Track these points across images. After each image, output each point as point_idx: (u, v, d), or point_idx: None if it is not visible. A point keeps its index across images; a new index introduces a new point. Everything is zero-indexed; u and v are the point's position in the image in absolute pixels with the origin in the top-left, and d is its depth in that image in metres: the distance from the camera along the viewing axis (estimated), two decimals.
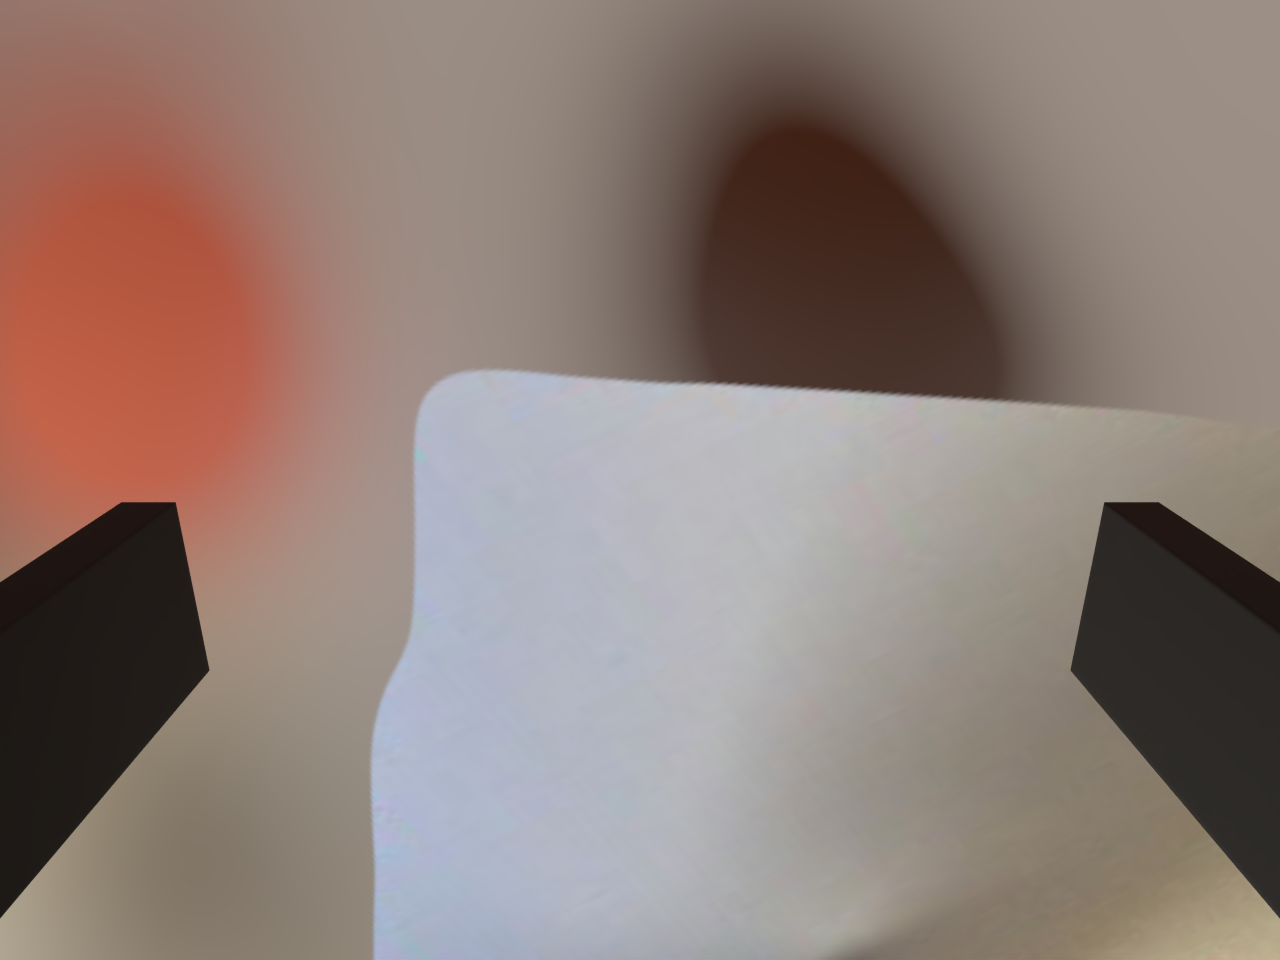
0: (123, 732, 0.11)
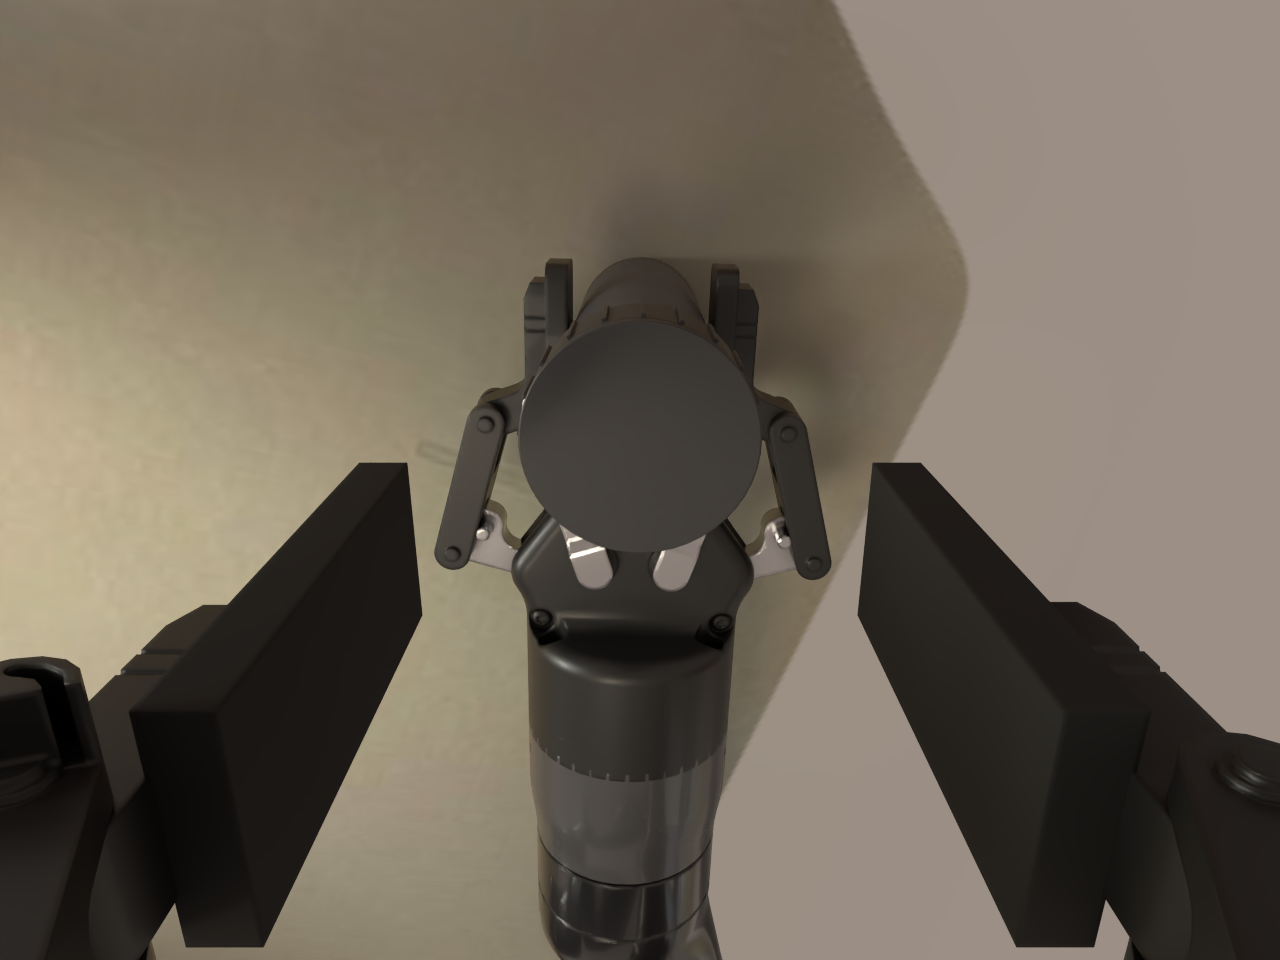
0: (384, 659, 0.12)
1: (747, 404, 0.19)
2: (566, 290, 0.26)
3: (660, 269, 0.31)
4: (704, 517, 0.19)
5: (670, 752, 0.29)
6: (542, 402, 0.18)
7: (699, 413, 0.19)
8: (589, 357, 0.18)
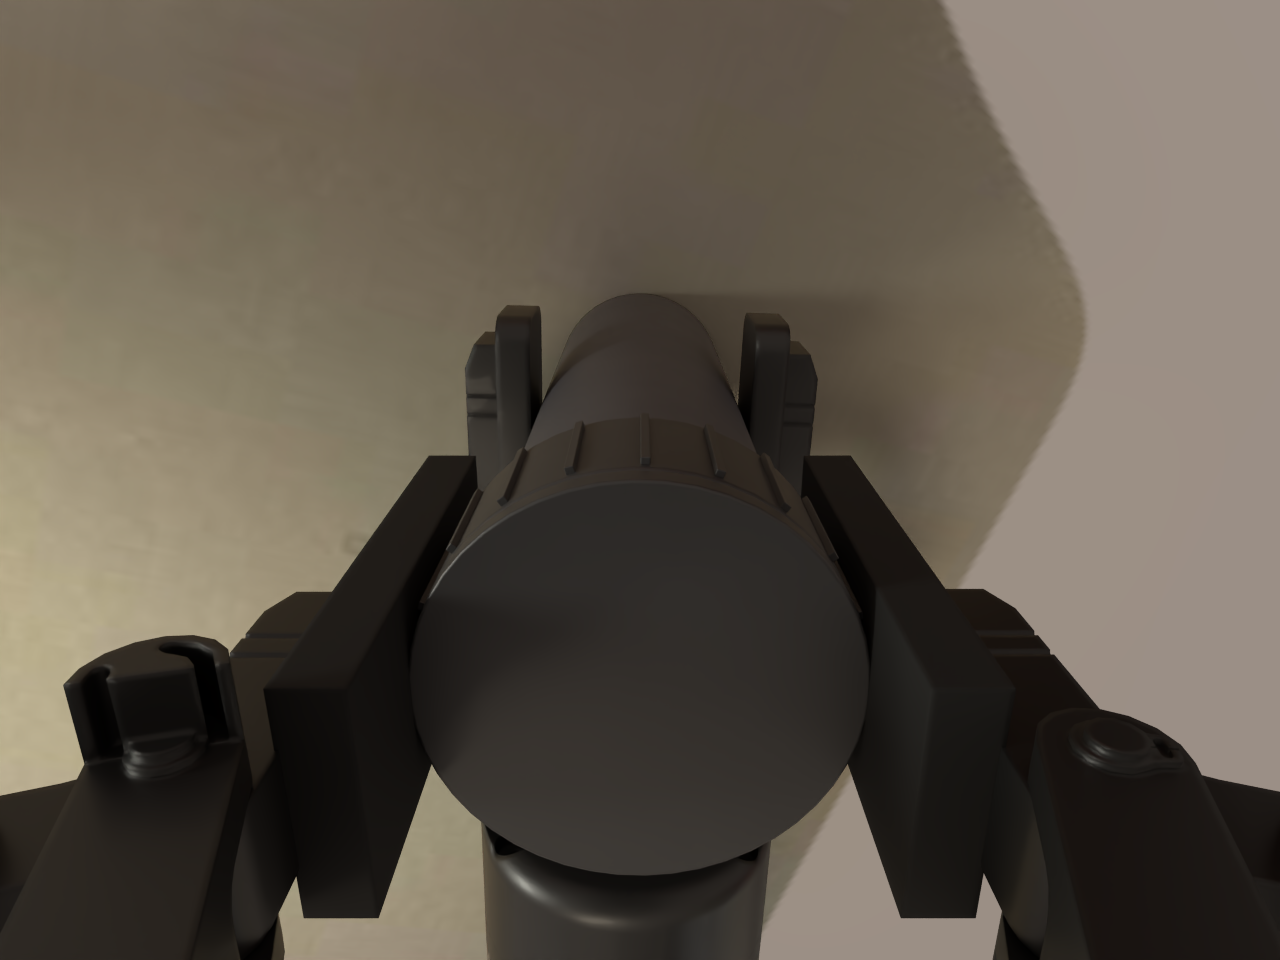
0: None
1: (846, 630, 0.10)
2: (528, 357, 0.17)
3: (668, 314, 0.22)
4: (758, 819, 0.11)
5: None
6: (451, 628, 0.10)
7: (752, 645, 0.10)
8: (540, 547, 0.09)
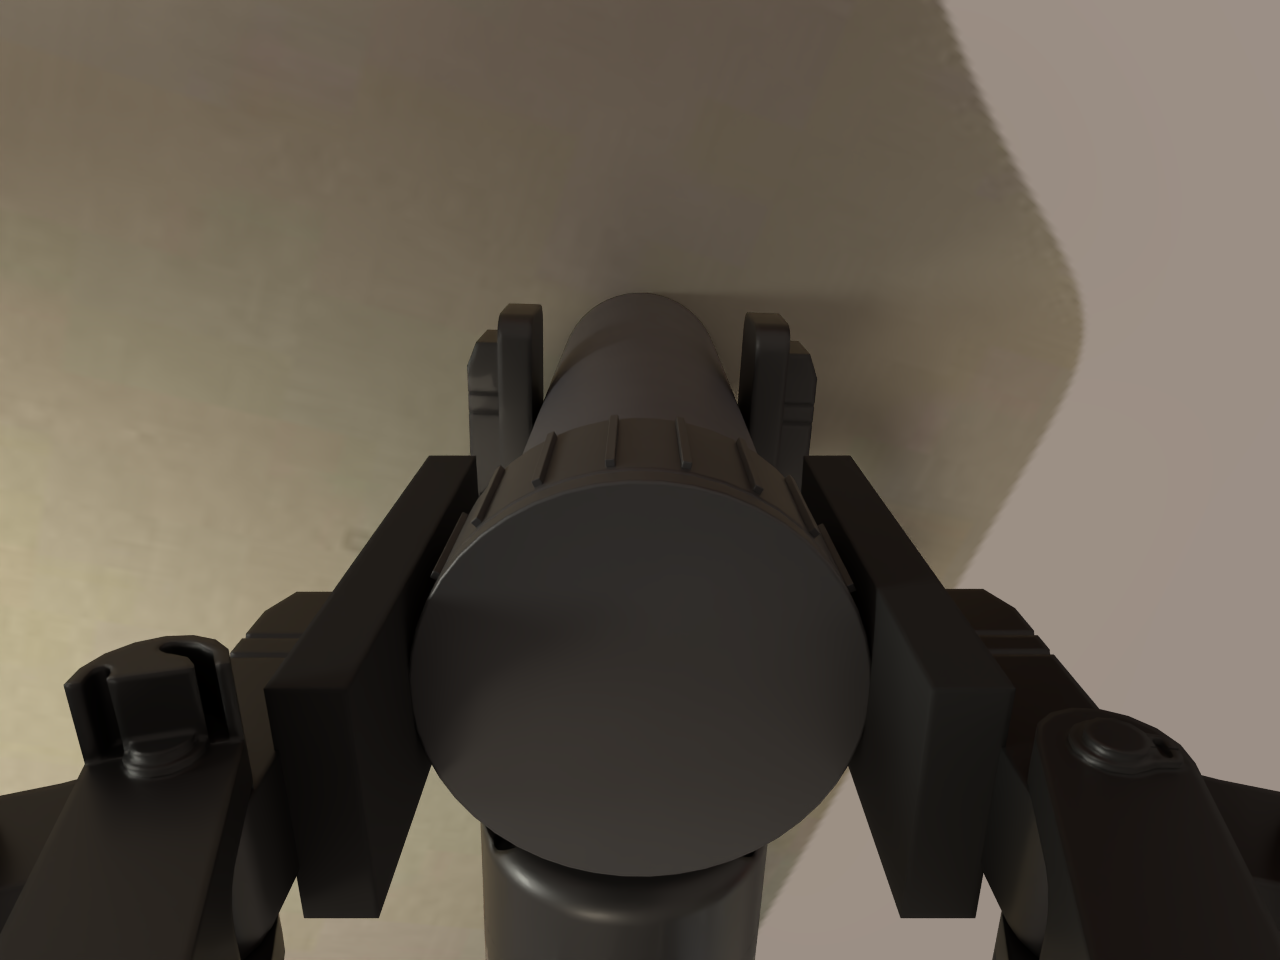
0: None
1: (528, 524, 0.09)
2: (530, 355, 0.17)
3: (669, 313, 0.22)
4: (782, 563, 0.09)
5: None
6: (591, 850, 0.11)
7: (563, 608, 0.09)
8: (497, 791, 0.10)
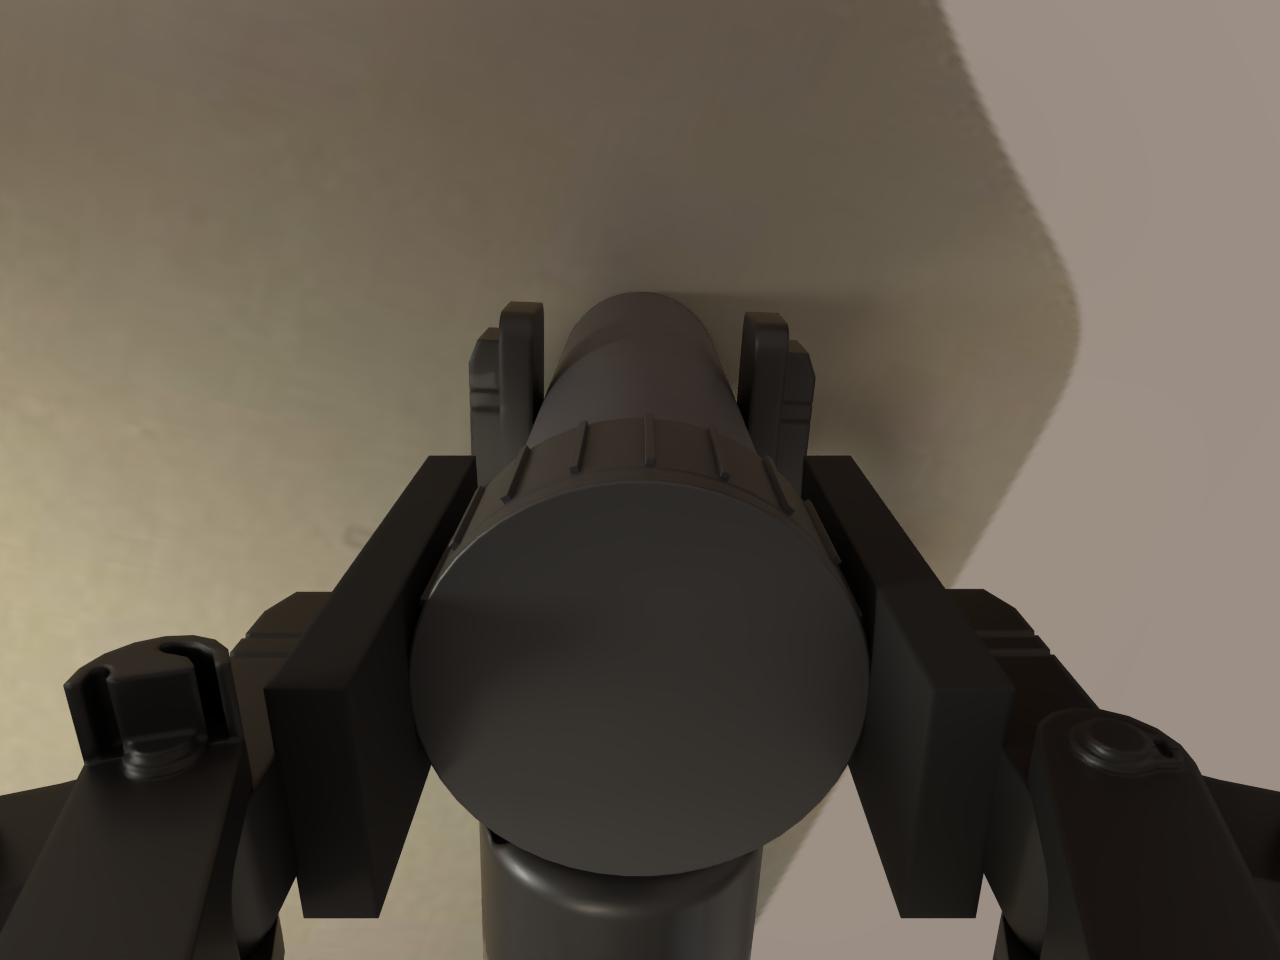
0: None
1: (477, 801, 0.10)
2: (531, 353, 0.18)
3: (669, 312, 0.22)
4: (466, 598, 0.09)
5: None
6: (835, 718, 0.10)
7: (554, 769, 0.10)
8: (769, 802, 0.10)
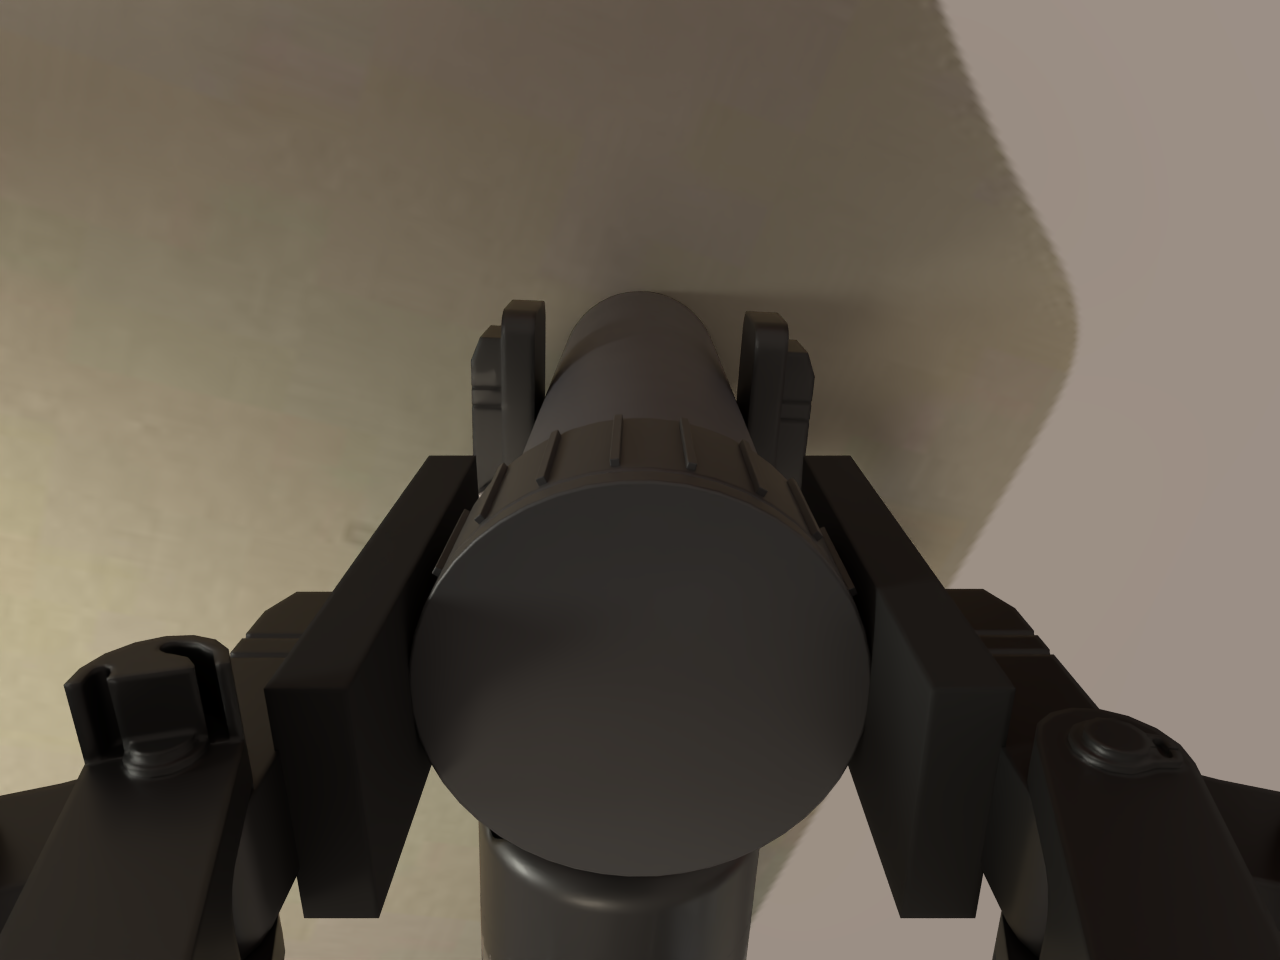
0: None
1: (784, 816, 0.11)
2: (533, 351, 0.18)
3: (669, 311, 0.22)
4: (560, 840, 0.11)
5: None
6: (634, 515, 0.09)
7: (737, 760, 0.10)
8: (756, 557, 0.09)
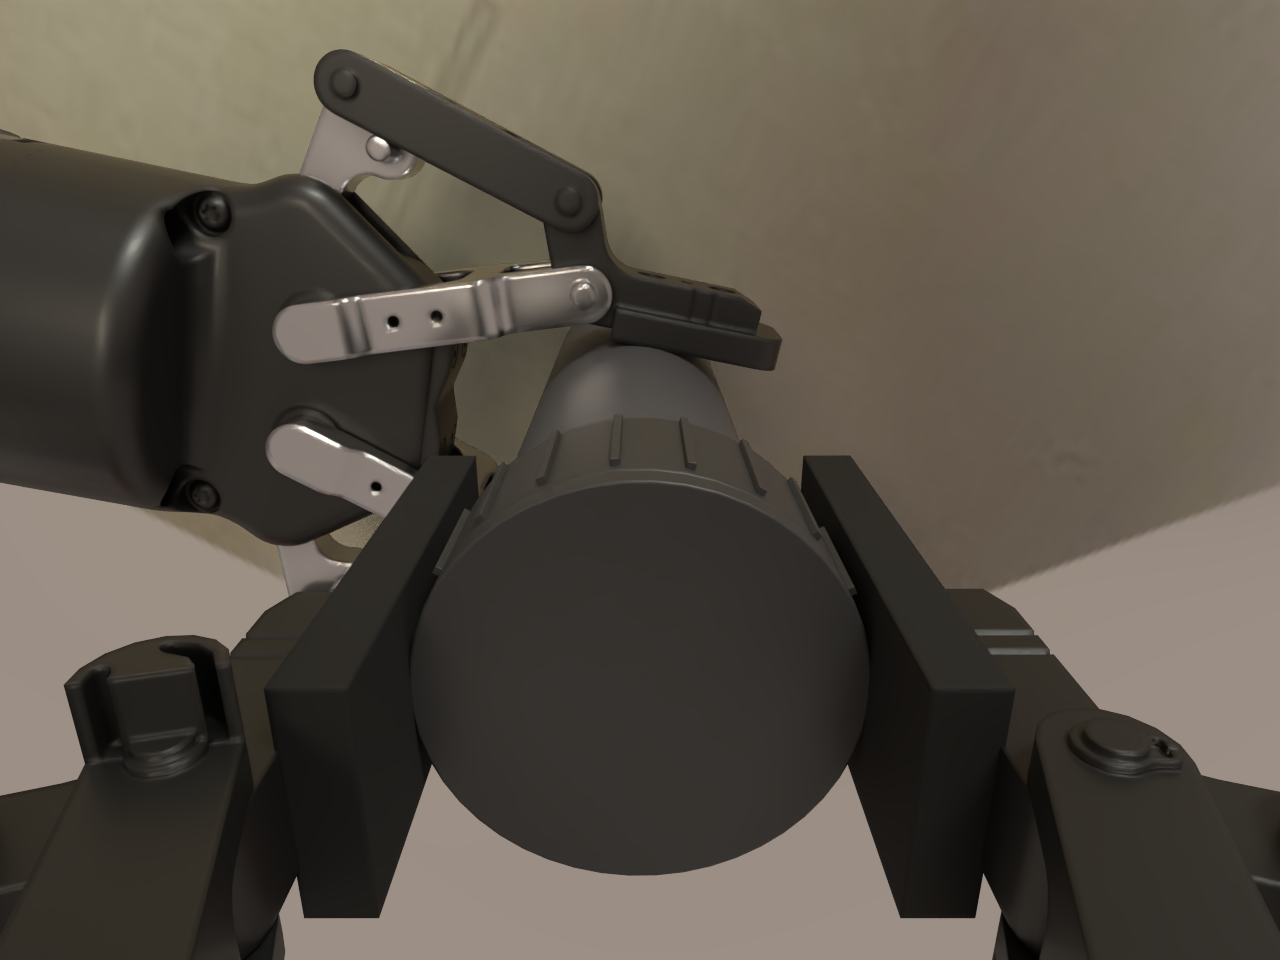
0: None
1: (784, 815, 0.11)
2: (743, 365, 0.19)
3: None
4: (561, 839, 0.11)
5: None
6: (634, 514, 0.09)
7: (737, 758, 0.10)
8: (756, 557, 0.09)
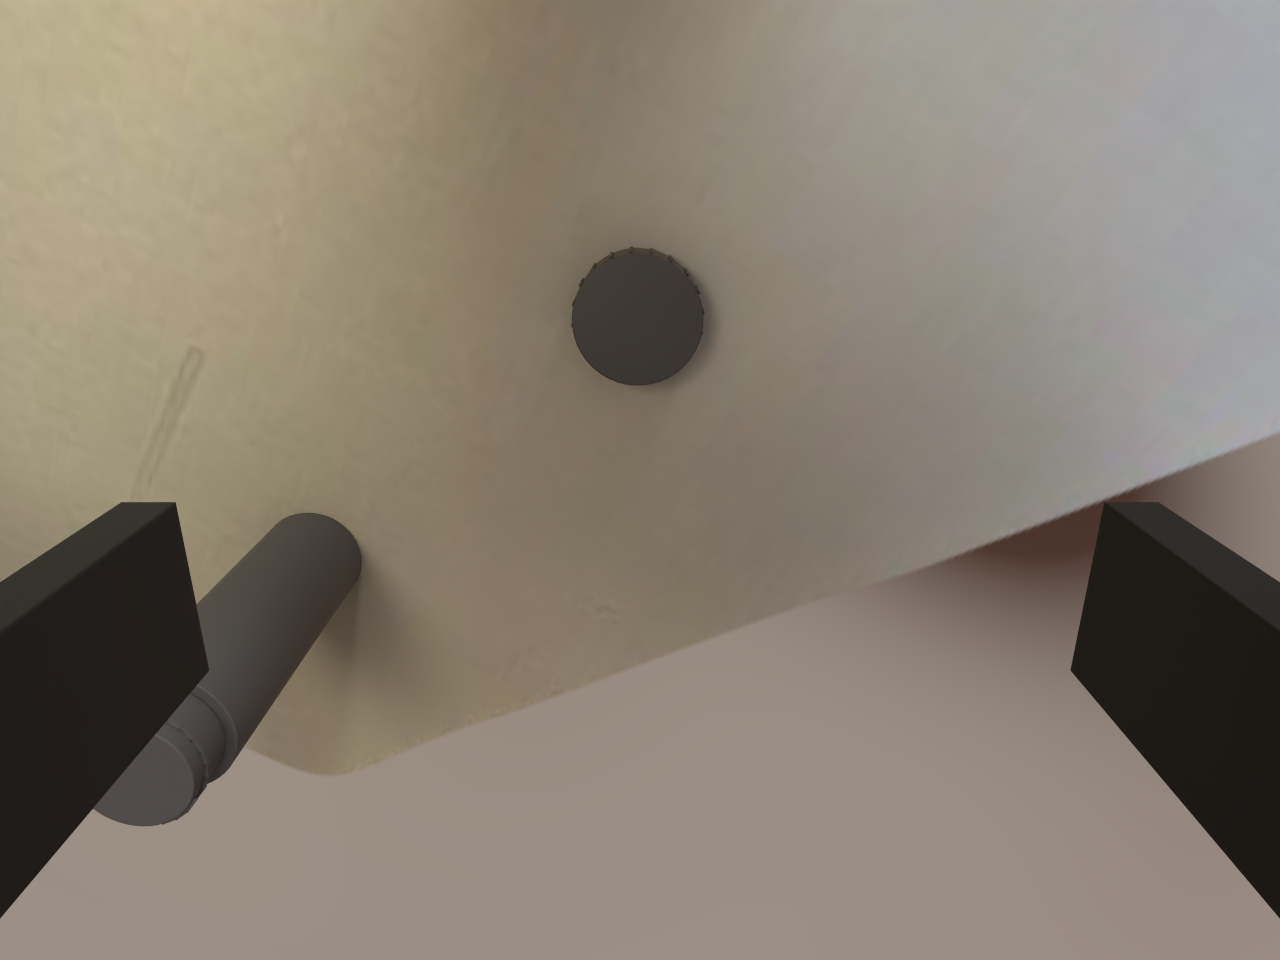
0: (123, 732, 0.11)
1: (680, 363, 0.36)
2: None
3: (339, 604, 0.39)
4: (613, 371, 0.36)
5: None
6: (636, 263, 0.34)
7: (665, 342, 0.35)
8: (669, 277, 0.34)
